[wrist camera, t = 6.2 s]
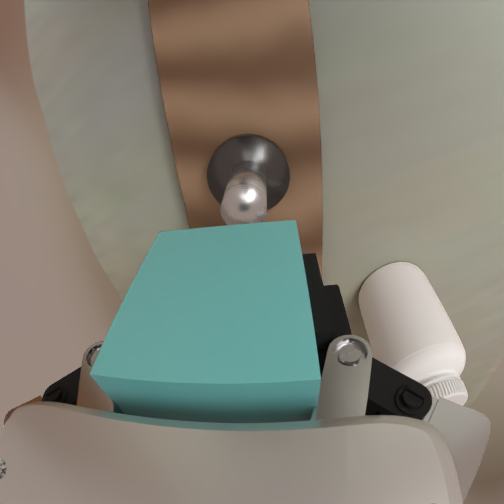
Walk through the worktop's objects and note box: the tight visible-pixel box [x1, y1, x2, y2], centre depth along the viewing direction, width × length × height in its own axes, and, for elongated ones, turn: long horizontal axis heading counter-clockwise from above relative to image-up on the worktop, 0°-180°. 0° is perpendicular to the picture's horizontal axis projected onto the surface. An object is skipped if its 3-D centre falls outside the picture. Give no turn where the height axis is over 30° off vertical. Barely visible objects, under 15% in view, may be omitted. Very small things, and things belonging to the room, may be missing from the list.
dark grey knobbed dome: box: [207, 134, 290, 225], centre depth 20 cm, size 6×6×7 cm
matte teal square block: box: [90, 220, 321, 423], centre depth 10 cm, size 5×5×7 cm
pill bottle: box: [359, 262, 468, 406], centre depth 24 cm, size 8×8×15 cm
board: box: [148, 0, 322, 276], centre depth 22 cm, size 30×11×1 cm, turn 7°
